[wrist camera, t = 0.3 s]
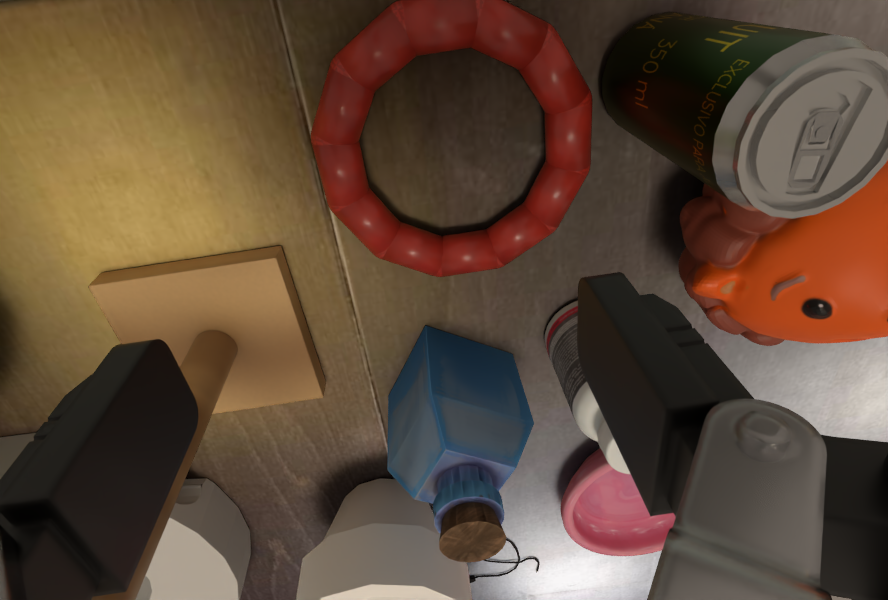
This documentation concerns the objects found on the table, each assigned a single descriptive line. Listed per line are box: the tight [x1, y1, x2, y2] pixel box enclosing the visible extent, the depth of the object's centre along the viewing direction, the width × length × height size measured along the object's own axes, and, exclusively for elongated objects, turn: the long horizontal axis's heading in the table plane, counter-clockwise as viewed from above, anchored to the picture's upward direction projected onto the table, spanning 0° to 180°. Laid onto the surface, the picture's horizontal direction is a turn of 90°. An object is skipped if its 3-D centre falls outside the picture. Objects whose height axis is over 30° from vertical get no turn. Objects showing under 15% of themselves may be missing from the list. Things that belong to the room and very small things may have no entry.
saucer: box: [561, 448, 676, 556], centre depth 40 cm, size 12×12×3 cm
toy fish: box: [678, 160, 888, 346], centre depth 24 cm, size 12×10×11 cm
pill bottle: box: [545, 301, 630, 474], centre depth 29 cm, size 5×5×10 cm
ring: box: [311, 0, 592, 277], centre depth 26 cm, size 13×13×2 cm
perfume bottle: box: [388, 325, 534, 562], centre depth 29 cm, size 6×6×12 cm
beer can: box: [602, 12, 888, 219], centre depth 20 cm, size 5×5×12 cm
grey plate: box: [0, 433, 251, 600], centre depth 39 cm, size 23×23×4 cm
